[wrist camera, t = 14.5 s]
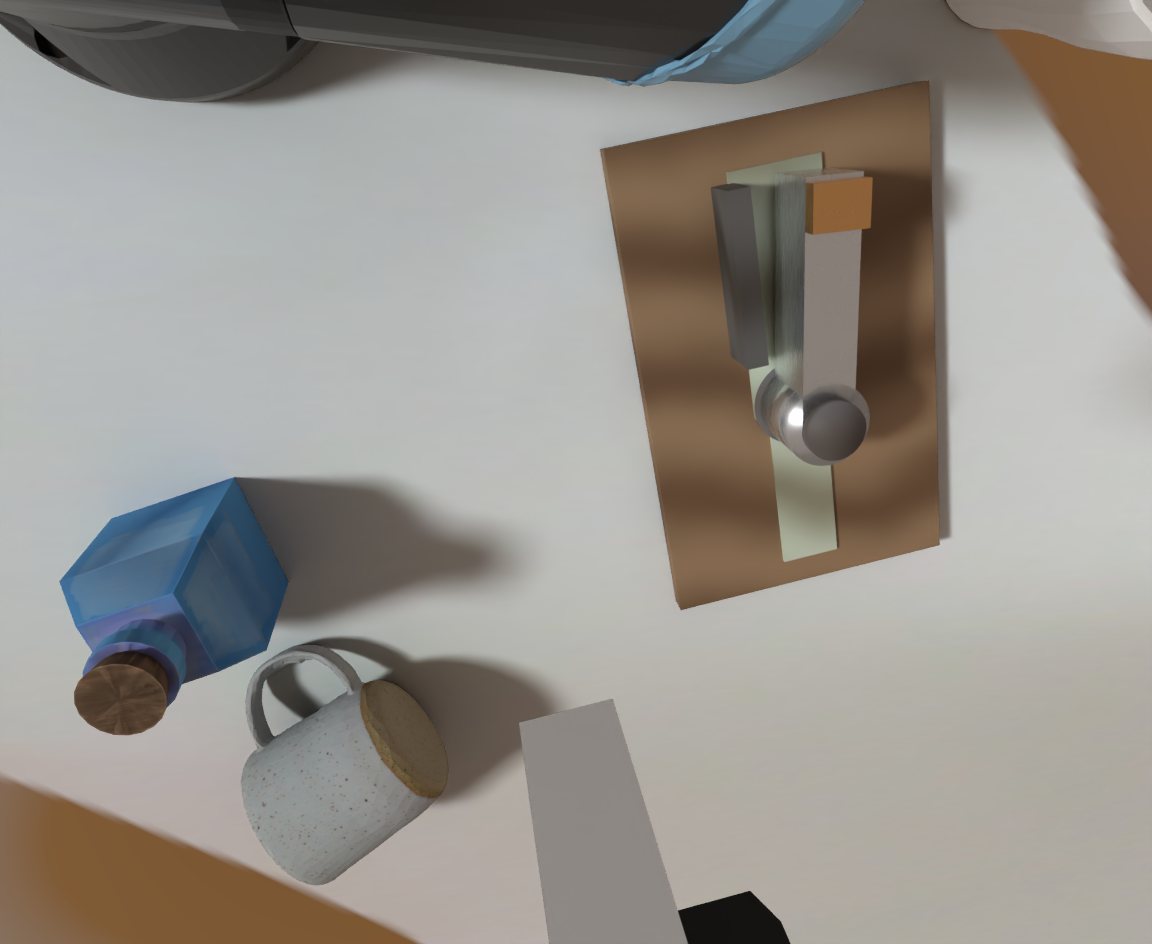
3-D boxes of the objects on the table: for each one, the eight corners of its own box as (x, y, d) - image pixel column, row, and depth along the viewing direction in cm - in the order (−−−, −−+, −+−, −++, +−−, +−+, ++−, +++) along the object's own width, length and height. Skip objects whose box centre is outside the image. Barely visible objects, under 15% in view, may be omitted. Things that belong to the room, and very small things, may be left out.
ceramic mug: (458, 729, 49) (460, 829, 42) (346, 806, 49) (329, 918, 42) (332, 603, 45) (311, 690, 38) (213, 690, 46) (169, 791, 38)
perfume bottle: (234, 476, 41) (160, 604, 30) (288, 581, 44) (238, 735, 33) (111, 518, 41) (-8, 662, 30) (172, 621, 44) (83, 788, 33)
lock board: (599, 149, 38) (627, 153, 33) (917, 81, 39) (994, 74, 34) (676, 600, 48) (706, 661, 42) (929, 537, 49) (991, 588, 43)
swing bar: (836, 434, 43) (875, 465, 40) (760, 445, 43) (793, 477, 39) (844, 165, 38) (890, 170, 35) (758, 174, 38) (795, 180, 34)
